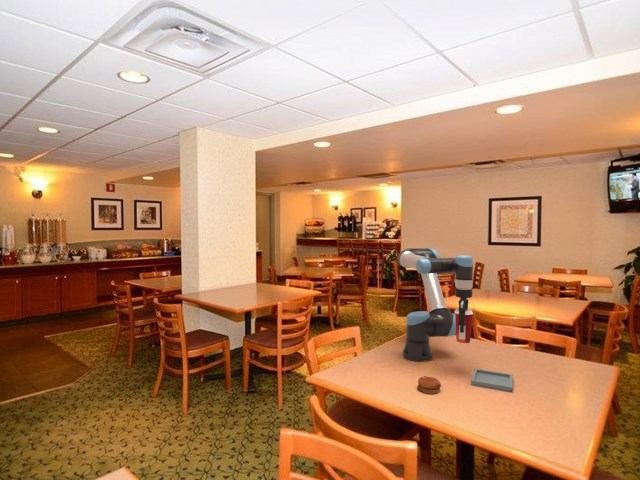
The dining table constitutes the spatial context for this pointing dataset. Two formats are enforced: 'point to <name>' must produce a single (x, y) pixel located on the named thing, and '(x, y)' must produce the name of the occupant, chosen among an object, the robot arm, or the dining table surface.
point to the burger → (429, 385)
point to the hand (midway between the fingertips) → (463, 336)
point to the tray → (492, 380)
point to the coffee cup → (467, 325)
